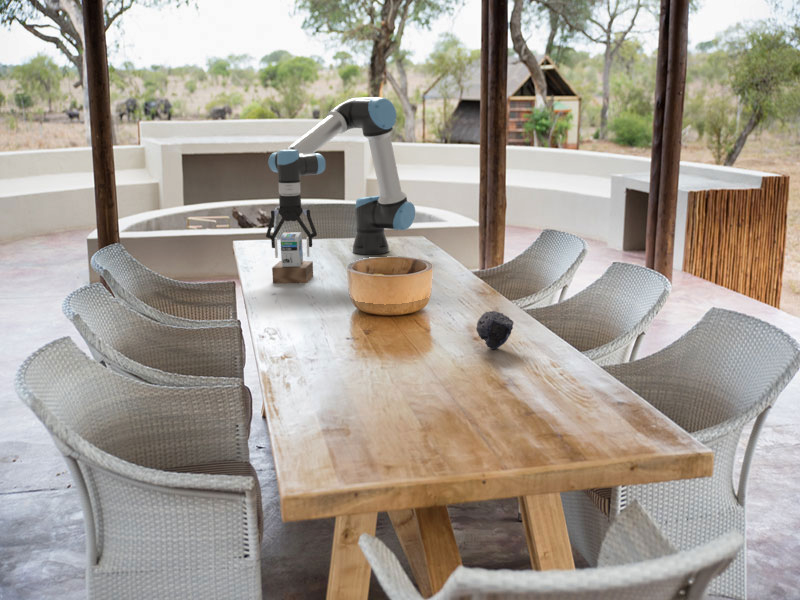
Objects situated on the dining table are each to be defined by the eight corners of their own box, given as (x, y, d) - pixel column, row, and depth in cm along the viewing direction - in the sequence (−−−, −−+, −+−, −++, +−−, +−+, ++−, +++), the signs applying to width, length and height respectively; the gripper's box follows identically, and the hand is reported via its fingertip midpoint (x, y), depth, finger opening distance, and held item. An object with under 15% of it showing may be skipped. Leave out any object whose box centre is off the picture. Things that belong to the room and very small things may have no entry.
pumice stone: (483, 355, 210) (483, 317, 207) (470, 347, 217) (471, 310, 214) (520, 351, 213) (521, 313, 211) (506, 343, 220) (507, 306, 218)
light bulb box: (300, 267, 292) (299, 236, 290) (281, 267, 292) (279, 237, 290) (303, 261, 303) (302, 231, 300) (284, 261, 303) (283, 231, 300)
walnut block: (313, 277, 304) (312, 261, 303) (306, 284, 292) (305, 267, 291) (281, 277, 305) (280, 261, 304) (273, 284, 294) (272, 267, 292)
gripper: (255, 196, 287) (259, 259, 292) (322, 195, 289) (325, 257, 294) (257, 194, 294) (260, 255, 299) (322, 192, 296) (324, 253, 301)
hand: (292, 256), depth 297 cm, fingers open, 10 cm apart
